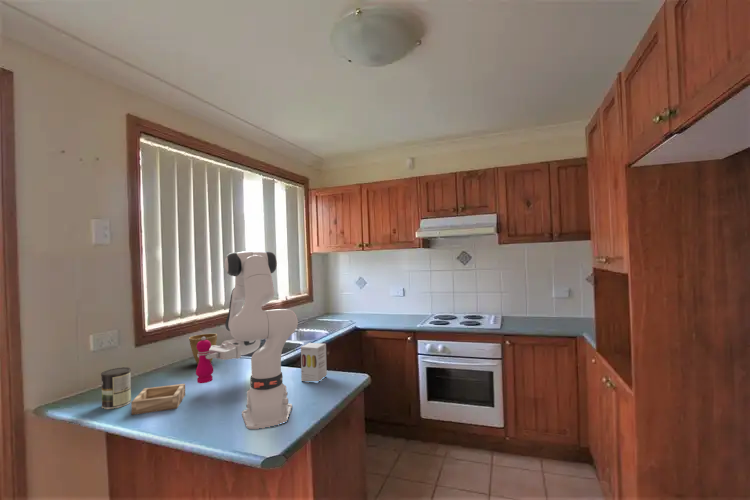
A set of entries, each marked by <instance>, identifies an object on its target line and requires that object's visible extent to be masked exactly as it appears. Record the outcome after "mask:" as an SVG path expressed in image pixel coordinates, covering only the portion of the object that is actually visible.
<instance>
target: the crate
mask: <svg viewBox="0 0 750 500" xmlns="http://www.w3.org/2000/svg"><path fill="white" fill-rule="evenodd" d="M185 396H186V383H177V384H170V385H162V386H154V387H144V388H143V389H142V390H141V391H140V392H139V393H138V395H136V397H134V399H133V400H131V402H130V404H131V406H130V407H131V415H132V416H133V415H139V414H141V415H142V414H148V413H154V412H155V413H156V412H163V411H169V410H170V411H171V410H177V409H178V408H179V406H180V405H181V403H182V402H183V399H184V398H185Z"/></svg>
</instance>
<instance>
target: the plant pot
mask: <svg viewBox="0 0 750 500" xmlns="http://www.w3.org/2000/svg"><path fill="white" fill-rule="evenodd" d="M202 337H205V338H206V339H205V340H208V341H210V343H211V346H213V345H217V341H218V340H217V339H218V334H217V333H201V334H195V335H191V336H190V337H188V339H189V345H190V348H191V352H192V355H193V358H194V360H195V363H196V365H197V366H198V363H199V357H197V354H198V350H197V347H196V346H197V343H198V342H199V341H201V340H202V339H201V338H202ZM213 359H214V358H211V359H210V362H211V363H212V361H213Z"/></svg>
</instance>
